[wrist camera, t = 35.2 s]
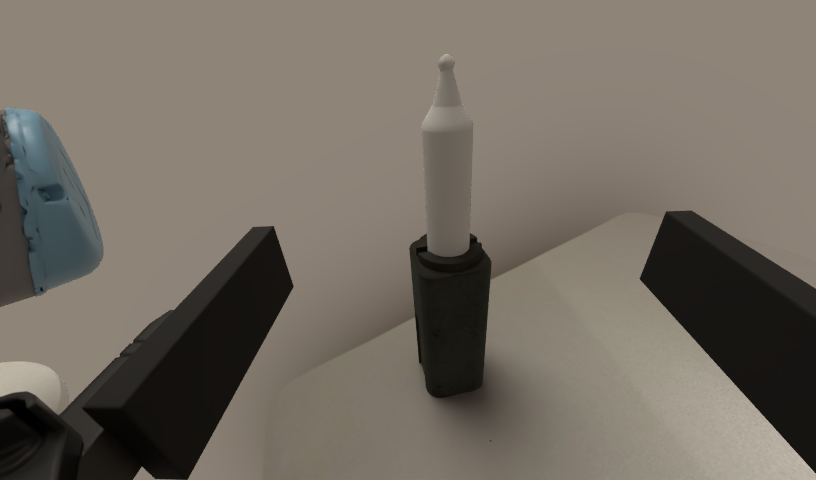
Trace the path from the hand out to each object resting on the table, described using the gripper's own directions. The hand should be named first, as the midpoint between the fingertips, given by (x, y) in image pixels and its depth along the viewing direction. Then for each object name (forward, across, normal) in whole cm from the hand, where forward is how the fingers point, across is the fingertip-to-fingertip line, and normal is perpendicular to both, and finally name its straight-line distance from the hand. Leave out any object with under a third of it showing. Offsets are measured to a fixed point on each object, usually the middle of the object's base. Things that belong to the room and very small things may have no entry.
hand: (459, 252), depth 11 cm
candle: (+9, 0, -19) cm, 21 cm away
